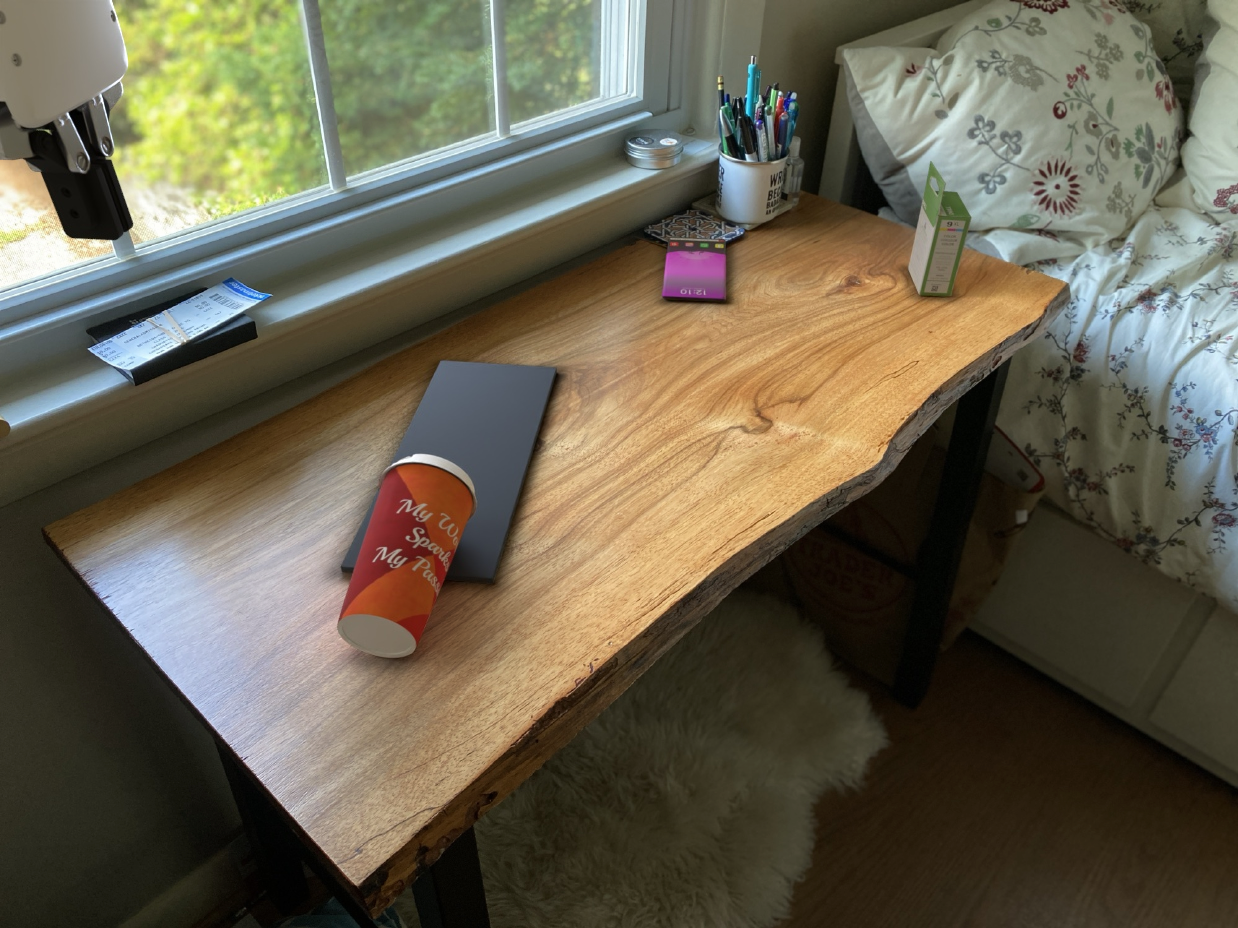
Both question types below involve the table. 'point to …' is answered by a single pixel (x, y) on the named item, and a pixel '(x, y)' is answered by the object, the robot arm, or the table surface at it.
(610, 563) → the table surface
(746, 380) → the table surface
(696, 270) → the smartphone
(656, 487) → the table surface
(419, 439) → the mat
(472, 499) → the paper cup
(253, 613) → the table surface
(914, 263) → the ink box
